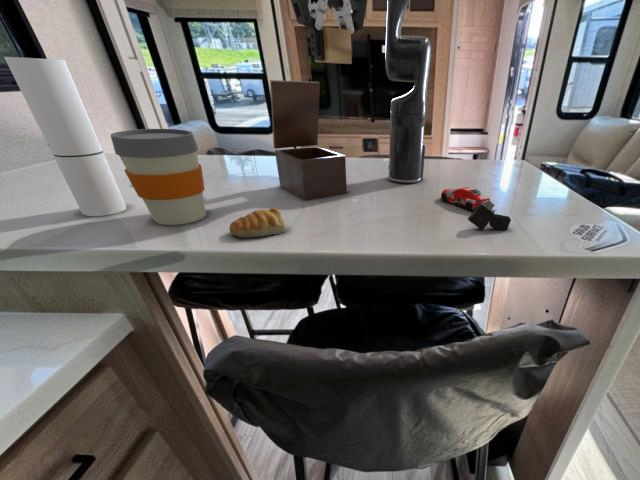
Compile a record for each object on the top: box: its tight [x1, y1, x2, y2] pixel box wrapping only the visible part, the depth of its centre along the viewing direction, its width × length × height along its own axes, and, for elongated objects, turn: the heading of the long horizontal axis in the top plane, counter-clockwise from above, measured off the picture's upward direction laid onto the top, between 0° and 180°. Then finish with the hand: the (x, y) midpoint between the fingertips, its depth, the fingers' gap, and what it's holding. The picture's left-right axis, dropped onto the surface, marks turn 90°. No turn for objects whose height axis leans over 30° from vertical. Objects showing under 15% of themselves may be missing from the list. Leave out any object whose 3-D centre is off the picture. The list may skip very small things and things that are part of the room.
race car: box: [440, 186, 491, 212], centre depth 80 cm, size 13×5×4 cm, turn 39°
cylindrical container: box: [3, 56, 127, 217], centre depth 61 cm, size 7×7×25 cm
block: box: [314, 26, 353, 65], centre depth 55 cm, size 4×4×4 cm
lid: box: [269, 79, 321, 150], centre depth 81 cm, size 14×12×5 cm
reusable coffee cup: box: [110, 128, 207, 226], centre depth 62 cm, size 13×13×15 cm
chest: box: [274, 145, 348, 201], centre depth 83 cm, size 14×12×9 cm
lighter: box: [467, 201, 512, 231], centre depth 68 cm, size 8×2×5 cm
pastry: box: [229, 207, 287, 239], centre depth 61 cm, size 9×7×4 cm
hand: (333, 60), depth 56 cm, fingers closed on block, 4 cm apart
